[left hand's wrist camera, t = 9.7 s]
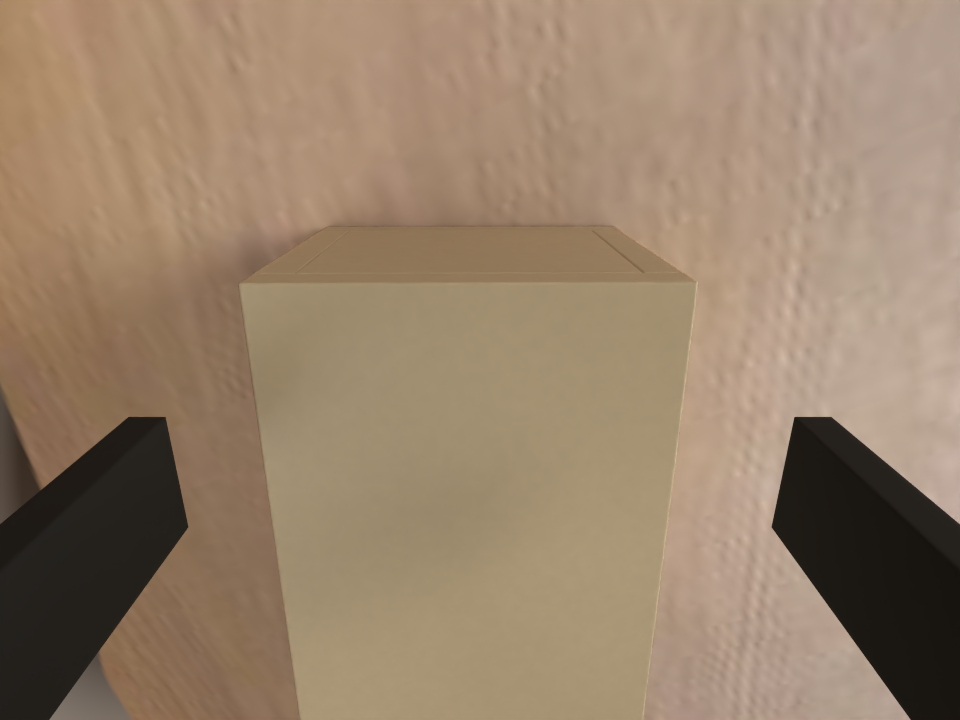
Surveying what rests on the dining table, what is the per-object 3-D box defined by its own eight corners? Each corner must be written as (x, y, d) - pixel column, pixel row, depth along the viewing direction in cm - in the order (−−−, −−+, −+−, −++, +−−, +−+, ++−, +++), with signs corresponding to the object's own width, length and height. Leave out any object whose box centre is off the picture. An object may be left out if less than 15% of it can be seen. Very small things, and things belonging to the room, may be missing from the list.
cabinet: (587, 581, 29) (636, 775, 20) (357, 583, 29) (307, 778, 20) (614, 225, 23) (699, 281, 14) (325, 226, 23) (236, 283, 14)
